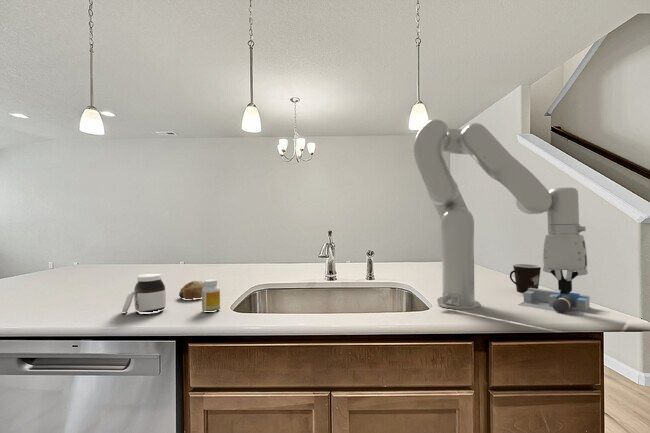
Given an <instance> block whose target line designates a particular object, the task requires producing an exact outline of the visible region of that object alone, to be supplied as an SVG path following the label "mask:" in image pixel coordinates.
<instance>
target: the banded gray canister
mask: <svg viewBox="0 0 650 433" xmlns="http://www.w3.org/2000/svg"><path fill="white" fill-rule="evenodd" d="M573 305H574V300H573V298H572V297H570V296H567V295H565V296H562V297H560V298H559V299H557V300H556V301H554V302H553V308H554V310H555V311H554V312H556V311H557V313H561V314H565V313H564V312H566V311H567V310H568V309H570V308H571V307H572V306H573Z"/></svg>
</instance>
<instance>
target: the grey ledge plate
mask: <svg viewBox="0 0 650 433" xmlns="http://www.w3.org/2000/svg"><path fill="white" fill-rule="evenodd" d="M562 296H565V294H561V291H560V290H558V291H556V290H548V289H541V288H538V289H535V288H528V291H526V292H524V293H523V301H522V302H520V303H519V304H517V305H518V306H522V307H527V308H528V307H529V308H534V309H538V310H539V309H540V310H545V311H552V312H557V311H555V310H554V308H553V302H554V301H556V300H557V299H559V298H560V297H562ZM567 296H570V297H572V298H573V300H574V305H573V306H572V307H571V308H570V309H568V310H567V311H566V312H564V313H563V314H569V315H576V316H580V317H583V316H584V315H585V313H587V312H588V311H589V310H590V309H591V308H592V307H591V306H590V305H591V304H590V303H591V302H590V300H591V299H590V295H587V294H580V293H578V292H570V293H569V294H568V295H567ZM557 313H558V312H557Z"/></svg>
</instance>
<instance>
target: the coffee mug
mask: <svg viewBox="0 0 650 433" xmlns="http://www.w3.org/2000/svg"><path fill="white" fill-rule="evenodd" d="M512 268H513V270H511V271H510V273H509V279H510V281H511V282H512V283H513V284H514V285H515V288H516V292H518V293H520V294H524V292H526V291H528V288H535V289H539V285H540V277H541V270H542V266H540V265H537V264H528V263H527V264H526V263H525V264H524V263H517V264H513V267H512ZM513 274H514V279H513V276H512V275H513Z"/></svg>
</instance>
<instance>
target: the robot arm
mask: <svg viewBox="0 0 650 433" xmlns="http://www.w3.org/2000/svg"><path fill="white" fill-rule="evenodd" d="M443 153H446V154H452V155H453V154H454V155H470V157H471V158H472V159H473V160H474V161H475V163H476V164H478V166H479V167H480V168H481V169H482V170H483V172H484V173H486V174H487V175H488V176H489V177H490V178H491V179H493V180H495V181H497V182H499V184H501V185H502V186H504V187H505V188H506V189H507V191H508V192H510V193H511V195H512V196H514V198H515V200H516V201H515V204H516V207H517V209H518V210H519V211H520V212H522V213H525V214H527V215H538V214H543V213H547V214H546V215H547V234H545V238H544V243H543V249H542V250H543V251H542V252H543V254H542V264H543V267H542V271H543V272H545V273H548V274H551V275H553V277H555V278H556V280H557V284H558V285H557V286H558V288H557V290H558V291H559V292H560V291H561V294H565V295H568V294H569V293H573V292H572V291H573V280H574V279H575V278H577V277H579V276H586V275H588V273H589V272H588V269H587V267H588V255H587V247H586V242H585V236H584V235H583V234H581V233H582V232H586V230H587V228H586V226H582V225H581V224H580V213H579V212H580V210H579V209H580V208H579V190H578V189H577V188H574V187H556V188H551V189H548V188H547V187H546V186H545V185H544V184H543V183H542V182H541V181H540V180H539V179H538V177H536V176H535V175H534V173H532V172H531V170H529V169H528V168H527V167H526V166H524V165H523V164H522V163H521V162H520V161H519V160H518V159H517V158H515V157H514V156H513V155H512V154H511V153H510V152H509V150H507V149H506V148H505V147H504V146H503V144H502V143H501V142H500V141H499V140H498V139H497V138H496V137H495V136H494V135H493V134H492V132H490V130H489V129H487V127H486V126H484V125H482V124H481V123H478V122H477V123H470V124H468V125H466V126H465V127H464V128H463V129H461V128H450V127H449V126H448V125H447V124H446V122H445V121H443V120H442V119H438V118H436V119H430V120H429V121H426V122H425V123H424V124H423V125H422V126H421V127H420V129H419V131H418V132H417V134H416V136H415V139H414V143H413V156H414V159H415V164H416V165H417V169H418V171H419V174H420V175H421V179H422V181H423V184H424V186H425V187H426V190H427V192H428V196H429V199H430V200H431V201H432V204H433V205H434V208H435V210H436V212H437V215H438V216H439V218H440V220H441V222H440V223H441V225H440V226H441V227H440V229H441V230H440V231H441V232H440V233H441V258H442V259H441V262H442V263H441V265H442V266H441V268H442V270H441V272H442V278H441V280H442V296H441V297H438V298H437V300H436V301H437V305H438V306H440V307H444V308H445V309H450V310H453V309H454V310H458V309H459V310H473V309H478V308H479V307H481V303H480V302H479V301H478V300H476V299H475V297H476V296H475V294H476V293H475V243H474V242H475V219H474V216H473V214H472V212H471V211H470V210H469V209H468V207H467V204H466V202H465V199H464V198H463V196H462V194H461V192H460V191H461V190H460V189H459V186H458V184H457V182H456V180H455V179H454V177H453V176H452V174H451V172H450V170H449V168H448V165H447V163H446V160H445V158H444V156H443ZM564 271H566V276H564Z"/></svg>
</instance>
